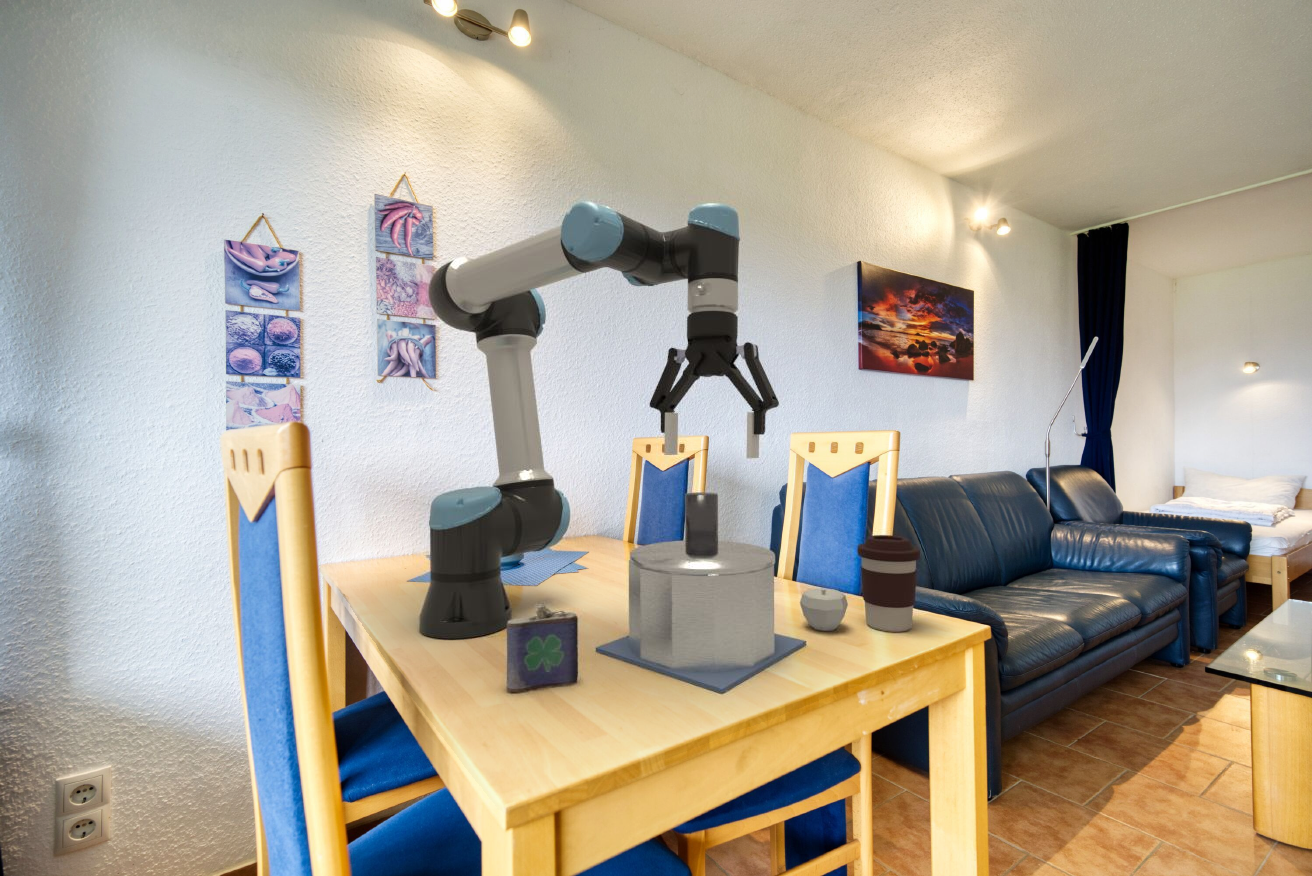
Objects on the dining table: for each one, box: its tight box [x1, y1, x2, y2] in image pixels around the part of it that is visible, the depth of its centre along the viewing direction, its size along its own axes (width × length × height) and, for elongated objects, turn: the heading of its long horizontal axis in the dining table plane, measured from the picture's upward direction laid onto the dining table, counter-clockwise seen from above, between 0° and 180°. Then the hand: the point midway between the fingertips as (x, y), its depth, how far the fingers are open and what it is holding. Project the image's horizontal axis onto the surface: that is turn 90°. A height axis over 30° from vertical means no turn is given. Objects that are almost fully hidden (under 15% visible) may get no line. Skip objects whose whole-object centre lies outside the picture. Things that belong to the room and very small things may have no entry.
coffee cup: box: [857, 534, 921, 633], centre depth 101 cm, size 10×10×15 cm
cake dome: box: [628, 491, 776, 673], centre depth 91 cm, size 22×22×23 cm
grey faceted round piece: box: [799, 587, 849, 632], centre depth 100 cm, size 8×8×7 cm
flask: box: [506, 601, 579, 694], centre depth 77 cm, size 9×3×11 cm, turn 110°
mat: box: [595, 632, 807, 694], centre depth 91 cm, size 23×23×1 cm
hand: (710, 456), depth 88 cm, fingers open, 13 cm apart
